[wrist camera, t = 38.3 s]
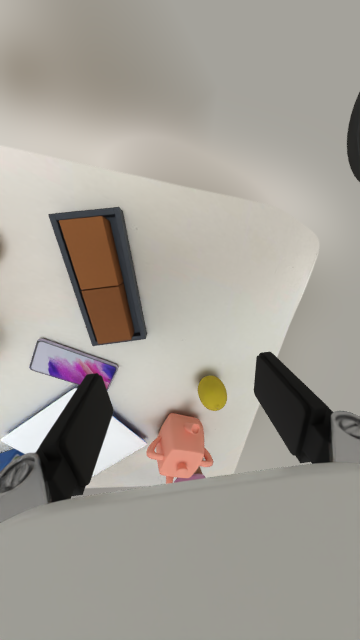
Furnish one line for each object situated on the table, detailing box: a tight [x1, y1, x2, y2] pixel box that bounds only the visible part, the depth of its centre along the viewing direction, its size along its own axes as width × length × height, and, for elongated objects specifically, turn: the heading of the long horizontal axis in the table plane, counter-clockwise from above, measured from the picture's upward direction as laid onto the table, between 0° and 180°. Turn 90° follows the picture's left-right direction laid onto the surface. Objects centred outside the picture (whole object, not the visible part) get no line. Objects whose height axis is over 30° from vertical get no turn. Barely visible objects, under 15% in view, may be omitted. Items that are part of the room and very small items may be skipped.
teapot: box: [147, 413, 213, 484], centre depth 38 cm, size 14×12×10 cm
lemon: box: [198, 376, 227, 411], centre depth 34 cm, size 6×6×8 cm
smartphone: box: [29, 338, 118, 391], centre depth 33 cm, size 7×1×15 cm
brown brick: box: [81, 283, 134, 344], centre depth 28 cm, size 6×9×4 cm, turn 6°
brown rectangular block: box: [59, 216, 123, 290], centre depth 25 cm, size 6×9×4 cm, turn 6°
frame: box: [48, 207, 147, 346], centre depth 28 cm, size 10×21×2 cm, turn 6°
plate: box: [1, 388, 147, 477], centre depth 40 cm, size 22×22×2 cm
